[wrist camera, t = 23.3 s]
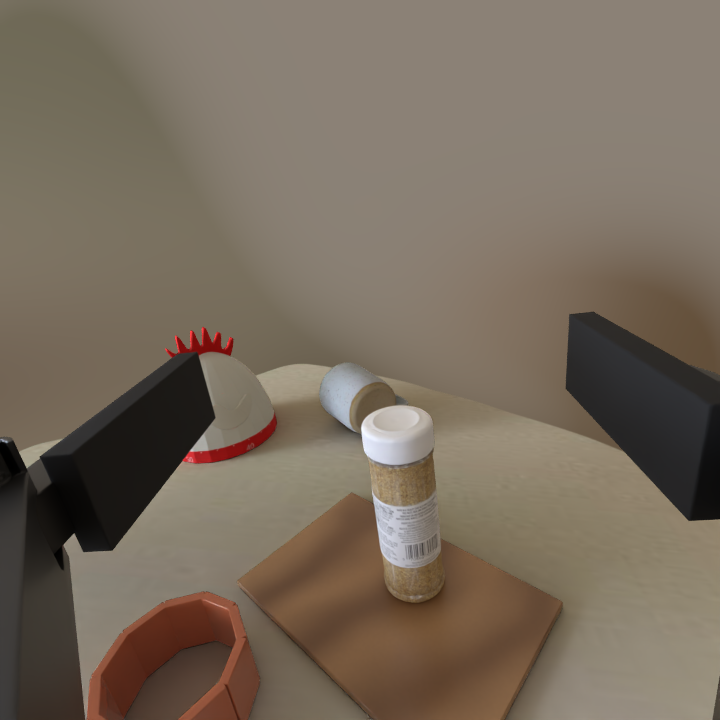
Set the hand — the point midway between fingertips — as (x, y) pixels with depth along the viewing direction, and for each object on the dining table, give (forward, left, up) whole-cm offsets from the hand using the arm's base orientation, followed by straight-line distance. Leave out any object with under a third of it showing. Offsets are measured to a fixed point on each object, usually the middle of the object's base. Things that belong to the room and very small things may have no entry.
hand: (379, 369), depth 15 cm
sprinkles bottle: (-6, +7, -21) cm, 23 cm away
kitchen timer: (-41, +11, -22) cm, 48 cm away
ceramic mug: (-26, +24, -22) cm, 42 cm away
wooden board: (-7, +5, -21) cm, 23 cm away
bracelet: (-12, -8, -21) cm, 26 cm away
